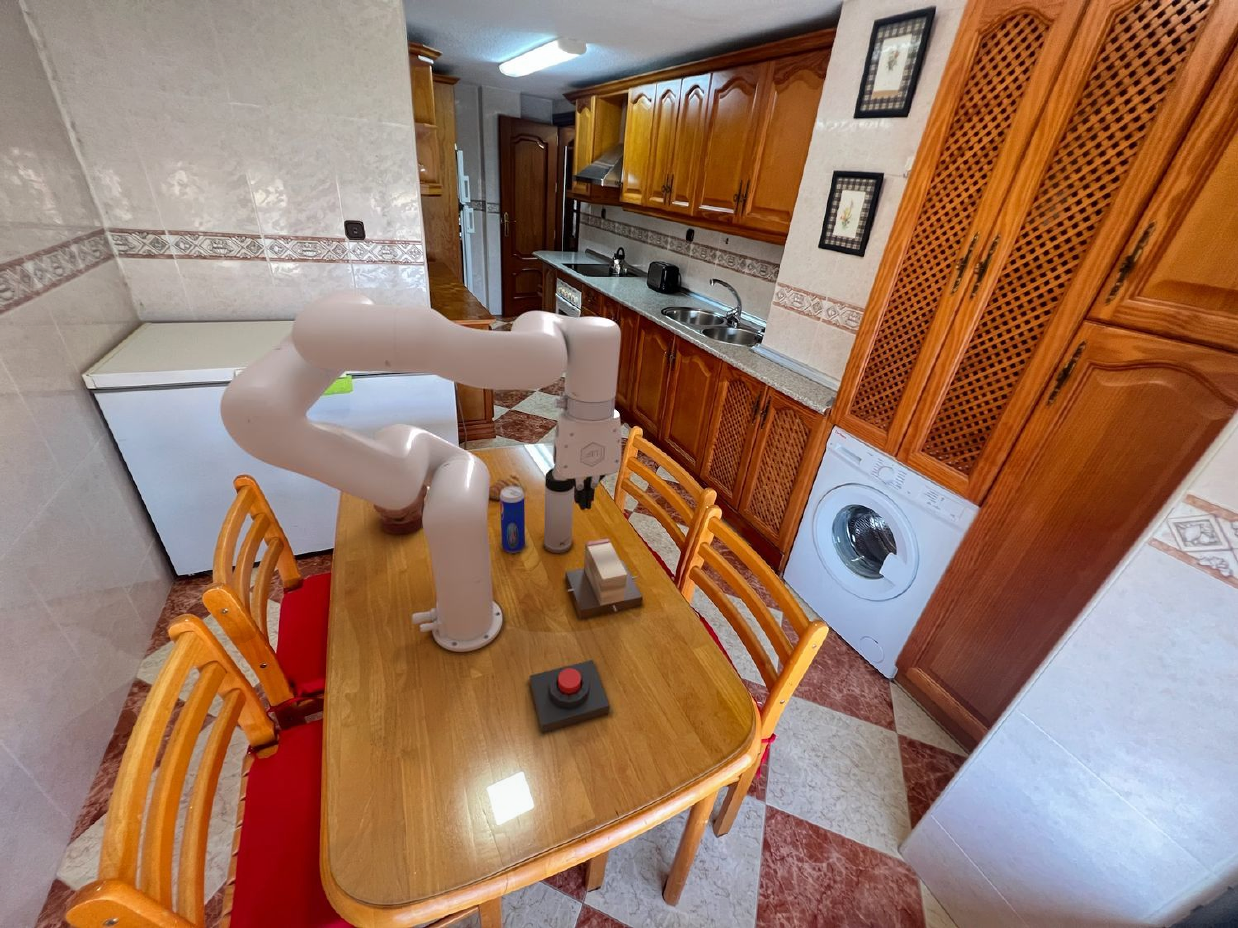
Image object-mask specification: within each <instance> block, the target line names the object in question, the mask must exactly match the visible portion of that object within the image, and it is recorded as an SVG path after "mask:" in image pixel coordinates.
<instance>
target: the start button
mask: <svg viewBox="0 0 1238 928" xmlns="http://www.w3.org/2000/svg"><path fill="white" fill-rule="evenodd" d="M580 685H581V675H580V673H579V672H578V671H577V670H575V669H572V668H568V669H564V670H563V671H562V672H561V673H560V674H559V677H558V688H559V690H560V691H561V692H562V693H564V694H566V695H572V694H574V693H576V692H577V691H578V690H579V689H580Z"/></svg>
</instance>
